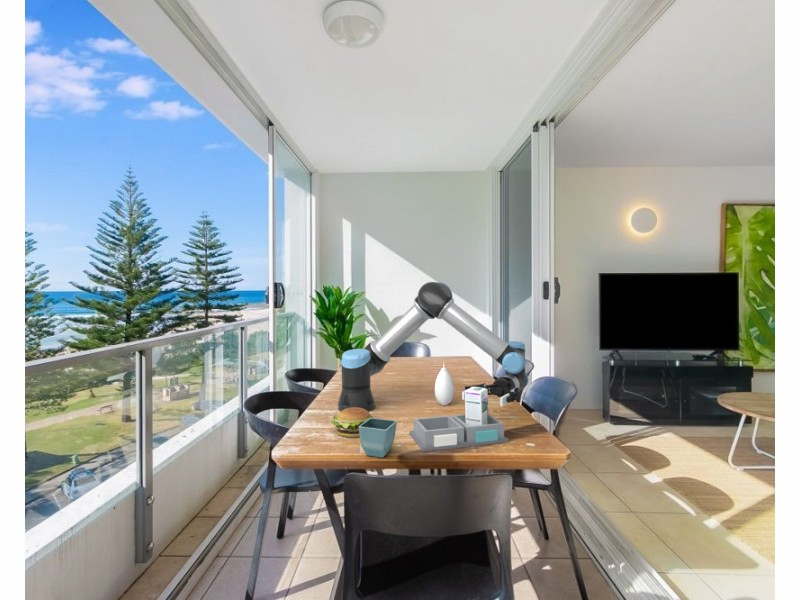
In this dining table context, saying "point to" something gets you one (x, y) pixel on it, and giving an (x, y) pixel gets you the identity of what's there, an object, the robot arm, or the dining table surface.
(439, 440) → the sorting bin tray
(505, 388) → the robot arm
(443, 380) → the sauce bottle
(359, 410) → the food
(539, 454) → the dining table surface
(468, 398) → the syrup box
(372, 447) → the flower pot
